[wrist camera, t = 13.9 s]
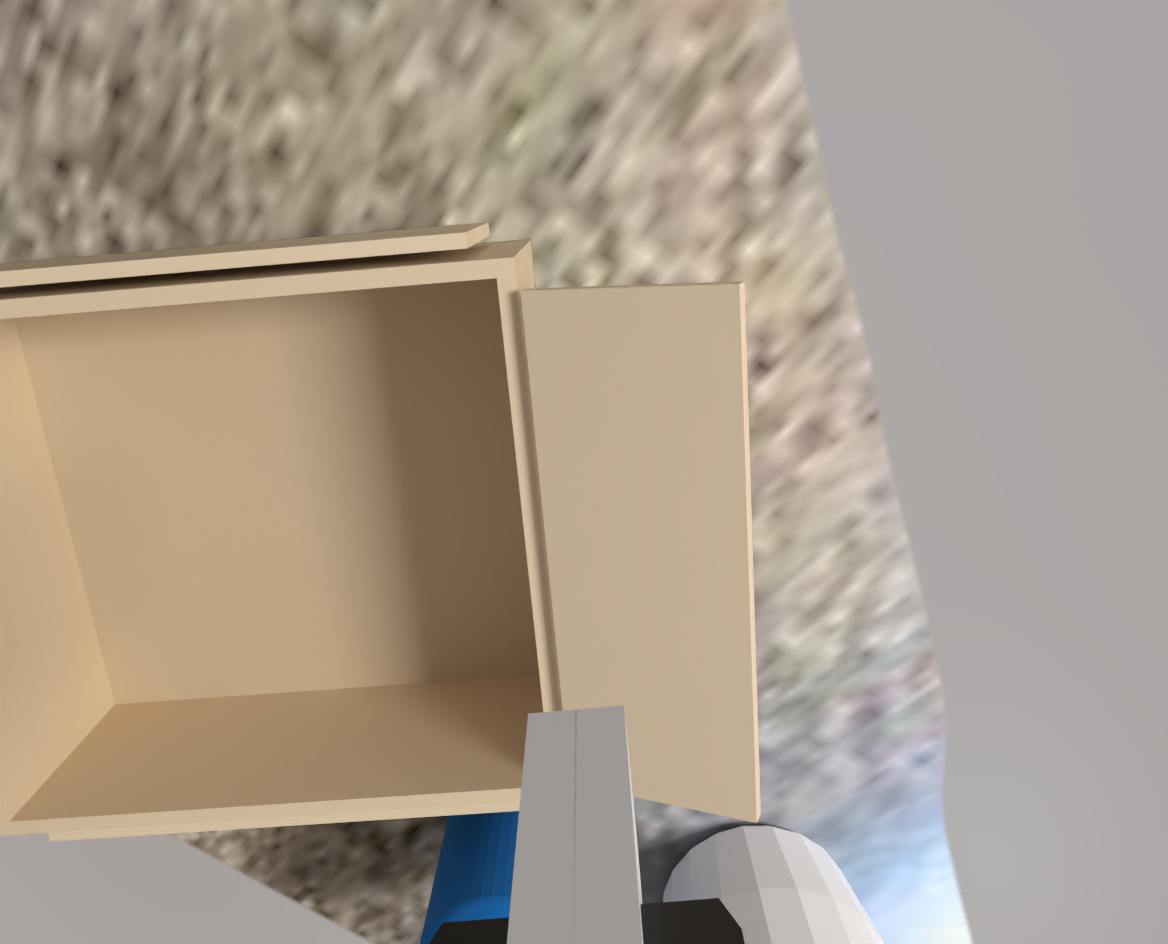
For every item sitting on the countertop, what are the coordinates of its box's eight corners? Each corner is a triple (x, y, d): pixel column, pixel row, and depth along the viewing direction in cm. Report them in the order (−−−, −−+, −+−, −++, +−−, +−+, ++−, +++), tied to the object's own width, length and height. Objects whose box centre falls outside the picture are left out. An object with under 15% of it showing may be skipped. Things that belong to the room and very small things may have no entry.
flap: (575, 775, 35) (760, 814, 32) (570, 783, 35) (756, 823, 32) (528, 288, 30) (744, 281, 27) (520, 290, 29) (739, 283, 26)
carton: (-6, 262, 39) (-177, 287, 30) (529, 217, 38) (510, 229, 29) (115, 725, 45) (3, 854, 36) (574, 693, 44) (570, 817, 36)
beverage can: (521, 868, 47) (498, 1088, 36) (428, 787, 46) (374, 990, 34) (615, 793, 46) (624, 998, 35) (523, 708, 45) (500, 891, 33)
